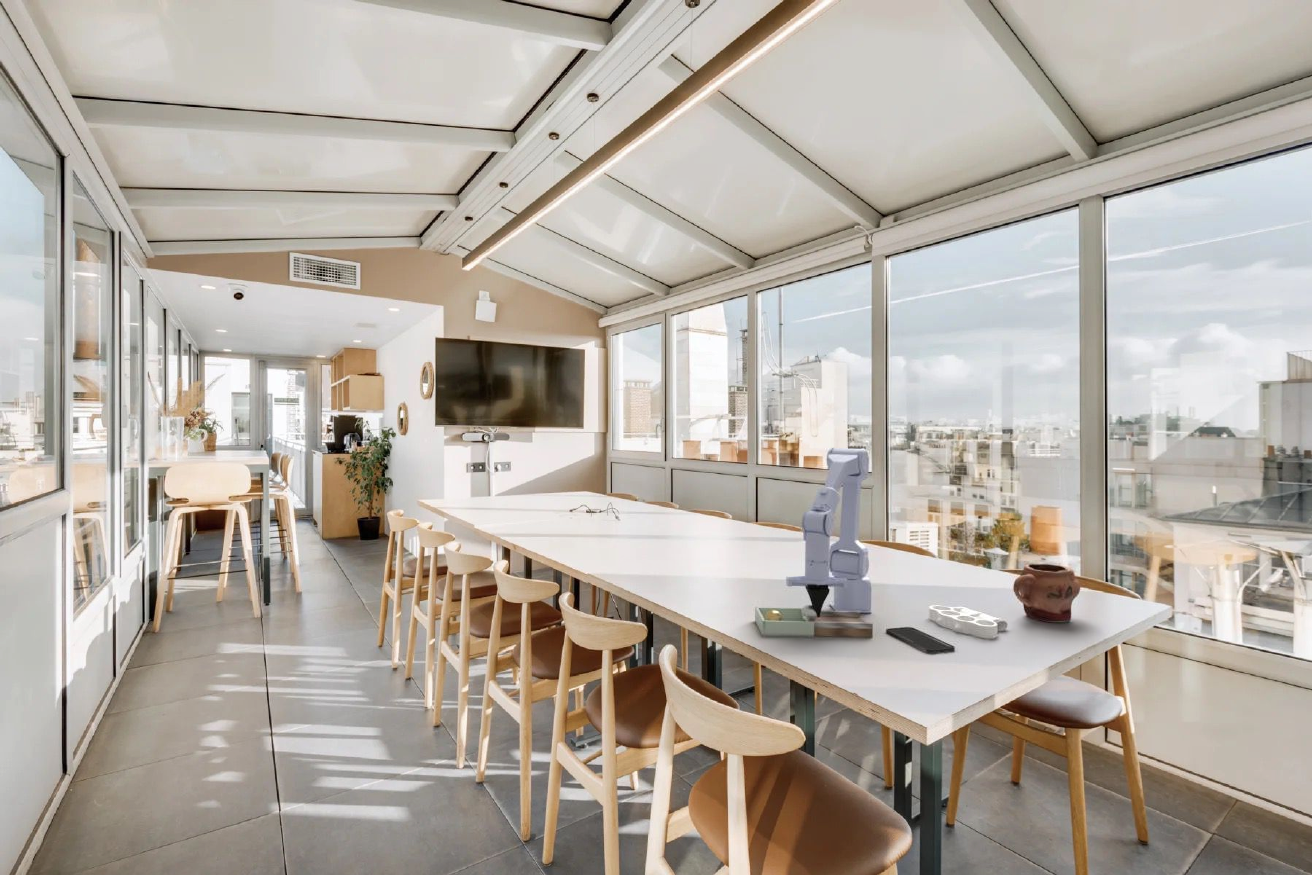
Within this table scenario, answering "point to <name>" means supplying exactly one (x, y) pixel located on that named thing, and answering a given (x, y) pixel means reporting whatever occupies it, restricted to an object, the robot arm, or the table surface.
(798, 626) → the sage tray
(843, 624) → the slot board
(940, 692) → the table surface
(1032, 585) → the decorative planter
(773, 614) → the brass ball
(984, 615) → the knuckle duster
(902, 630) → the phone
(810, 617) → the steel ball
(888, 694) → the table surface
